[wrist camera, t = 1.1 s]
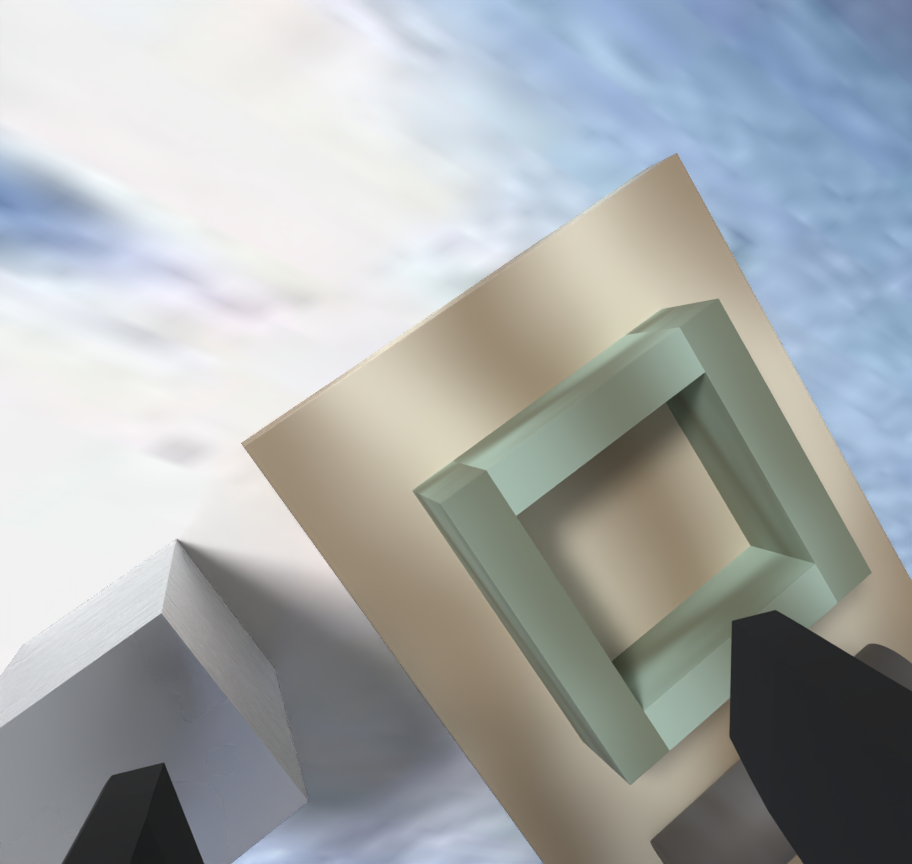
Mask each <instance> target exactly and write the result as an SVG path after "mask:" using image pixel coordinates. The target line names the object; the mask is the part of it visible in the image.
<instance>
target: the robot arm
mask: <svg viewBox="0 0 912 864" xmlns="http://www.w3.org/2000/svg"><path fill="white" fill-rule="evenodd" d="M729 737H730V739H731V741H732V743H733V745H734V747H735V749H736V751H737V753H738V755H739V757H740V759H741V761H742V763H743V765H744V767H745V769H746V771H747V773H748V775H749V777H750V779H751V781H752V782H753V784H754V786H755V788H756V790H757V792H758V794H759V795H760V797H761V799H762V801H763V803H764V805H765V806H766V808H767V810H768V812H769V813H770V815H771V816H772V818H773V819H774V821H775V822H776V824H777V825H778V827H779V829H780V830H781V832H782V833H783V834H784V836H785V837H786V839H787V840H788V842H789V843H790V845H791V846H792V848H793V849H794V851H795V852H796V854H797V855H798V857H799V858H800V860H801V861H802V863H803V864H912V691H911V690H909V689H907V688H906V687H904V686H902V685H900V684H899V683H897V682H895V681H894V680H892V679H890V678H889V677H887V676H885V675H884V674H882V673H880V672H878V671H877V670H875V669H874V668H872V667H870V666H869V665H867V664H865V663H864V662H862V661H860V660H859V659H857V658H855V657H854V656H852V655H850V654H849V653H847V652H845V651H844V650H842V649H840V648H839V647H837V646H835V645H834V644H832V643H830V642H829V641H827V640H826V639H824V638H822V637H821V636H819V635H817V634H816V633H814V632H812V631H811V630H809V629H807V628H806V627H804V626H802V625H801V624H799V623H797V622H796V621H794V620H792V619H791V618H789V617H787V616H785V615H784V614H782V613H780V612H779V611H777V610H773V611H769V612H765V613H761V614H757V615H753V616H749V617H745V618H741V619H737V620H733V621H732V634H731V680H730V726H729ZM62 864H204V862H203V859H202V857H201V854H200V852H199V849H198V847H197V844H196V842H195V839H194V837H193V834H192V831H191V829H190V826H189V824H188V821H187V819H186V816H185V814H184V811H183V809H182V806H181V804H180V801H179V799H178V796H177V794H176V791H175V788H174V786H173V783H172V781H171V778H170V776H169V773H168V771H167V768H166V766H165V763H164V762H163V763H159V764H155V765H151V766H147V767H143V768H139V769H135V770H131V771H127V772H123V773H119V774H115V775H112V776H111V777H110V778H109V780H108V781H107V782H106V784H105V785H104V787H103V789H102V791H101V793H100V794H99V796H98V798H97V800H96V802H95V803H94V805H93V807H92V809H91V811H90V813H89V815H88V816H87V818H86V820H85V822H84V824H83V826H82V827H81V829H80V831H79V833H78V835H77V837H76V838H75V840H74V842H73V844H72V846H71V848H70V849H69V851H68V853H67V855H66V857H65V858H64V860H63V862H62Z"/></svg>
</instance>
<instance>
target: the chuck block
mask: <svg viewBox="0 0 912 864" xmlns="http://www.w3.org/2000/svg"><path fill="white" fill-rule="evenodd" d="M241 444H242V445H243V446H244V448H245V449H246V451H247V452H248V453H249V455H250V456H251V458H252V459H253V460H254V462H255V463H256V464H257V466H258V467H259V469H260V470H261V471H262V473H263V474H264V476H265V477H266V478H267V480H268V481H269V483H270V484H271V485H272V487H273V488H274V489H275V491H276V492H277V494H278V495H279V496H280V498H281V499H282V501H283V502H284V503H285V505H286V506H287V508H288V509H289V510H290V512H291V513H292V514H293V516H294V517H295V519H296V520H297V521H298V523H299V524H300V526H301V527H302V528H303V530H304V531H305V533H306V534H307V535H308V537H309V538H310V539H311V541H312V542H313V544H314V545H315V546H316V548H317V549H318V551H319V552H320V553H321V555H322V556H323V558H324V559H325V560H326V562H327V563H328V565H329V566H330V567H331V569H332V570H333V571H334V573H335V574H336V576H337V577H338V578H339V580H340V581H341V583H342V584H343V585H344V587H345V588H346V590H347V591H348V592H349V594H350V595H351V596H352V598H353V599H354V601H355V602H356V603H357V605H358V606H359V608H360V609H361V610H362V612H363V613H364V615H365V616H366V617H367V619H368V620H369V621H370V623H371V624H372V626H373V627H374V628H375V630H376V631H377V633H378V634H379V635H380V637H381V638H382V640H383V641H384V642H385V644H386V645H387V646H388V648H389V649H390V651H391V652H392V653H393V655H394V656H395V658H396V659H397V660H398V662H399V663H400V665H401V666H402V667H403V669H404V670H405V671H406V673H407V674H408V676H409V677H410V678H411V680H412V681H413V683H414V684H415V685H416V687H417V688H418V690H419V691H420V692H421V694H422V695H423V696H424V698H425V699H426V701H427V702H428V703H429V705H430V706H431V708H432V709H433V710H434V712H435V713H436V715H437V716H438V717H439V719H440V720H441V721H442V723H443V724H444V726H445V727H446V728H447V730H448V731H449V733H450V734H451V735H452V737H453V738H454V740H455V741H456V742H457V744H458V745H459V746H460V748H461V749H462V751H463V752H464V753H465V755H466V756H467V758H468V759H469V760H470V762H471V763H472V765H473V766H474V767H475V769H476V770H477V771H478V773H479V774H480V776H481V777H482V778H483V780H484V781H485V783H486V784H487V785H488V787H489V788H490V790H491V791H492V792H493V794H494V795H495V796H496V798H497V799H498V801H499V802H500V803H501V805H502V806H503V808H504V809H505V810H506V812H507V813H508V815H509V816H510V817H511V819H512V820H513V821H514V823H515V824H516V826H517V827H518V828H519V830H520V831H521V833H522V834H523V835H524V837H525V838H526V840H527V841H528V842H529V844H530V845H531V847H532V848H533V849H534V851H535V852H536V853H537V855H538V856H539V858H540V859H541V860H542V862H543V863H544V864H803V863H802V861H801V860H800V858H799V857H798V855H797V854H796V852H795V851H794V849H793V848H792V846H791V845H790V843H789V842H788V840H787V839H786V837H785V836H784V834H783V833H782V832H781V830H780V829H779V827H778V825H777V824H776V822H775V821H774V819H773V818H772V816H771V815H770V813H769V812H768V810H767V808H766V806H765V805H764V803H763V801H762V799H761V797H760V795H759V794H758V792H757V790H756V788H755V786H754V784H753V782H752V781H751V779H750V777H749V775H748V773H747V771H746V769H745V767H744V765H743V763H742V761H741V759H740V757H739V755H738V753H737V751H736V749H735V747H734V745H733V743H732V741H731V739H730V737H729V726H730V680H731V634H732V621H733V620H737V619H741V618H745V617H749V616H753V615H757V614H761V613H765V612H769V611H773V610H777V611H779V612H780V613H782V614H784V615H785V616H787V617H789V618H791V619H792V620H794V621H796V622H797V623H799V624H801V625H802V626H804V627H806V628H807V629H809V630H811V631H812V632H814V633H816V634H817V635H819V636H821V637H822V638H824V639H826V640H827V641H829V642H830V643H832V644H834V645H835V646H837V647H839V648H840V649H842V650H844V651H845V652H847V653H849V654H850V655H852V656H854V657H855V658H857V659H859V660H860V661H862V662H864V663H865V664H867V665H869V666H870V667H872V668H874V669H875V670H877V671H878V672H880V673H882V674H884V675H885V676H887V677H889V678H890V679H892V680H894V681H895V682H897V683H899V684H900V685H902V686H904V687H906V688H907V689H909V690H911V691H912V581H911V579H910V577H909V575H908V573H907V572H906V570H905V568H904V566H903V564H902V563H901V561H900V559H899V557H898V555H897V553H896V552H895V550H894V548H893V546H892V544H891V542H890V541H889V539H888V537H887V535H886V533H885V532H884V530H883V528H882V526H881V524H880V522H879V521H878V519H877V517H876V515H875V513H874V512H873V510H872V508H871V506H870V504H869V502H868V501H867V499H866V497H865V495H864V493H863V491H862V490H861V488H860V486H859V484H858V482H857V481H856V479H855V477H854V475H853V473H852V471H851V470H850V468H849V466H848V464H847V462H846V460H845V459H844V457H843V455H842V453H841V451H840V450H839V448H838V446H837V444H836V442H835V440H834V439H833V437H832V435H831V433H830V431H829V429H828V428H827V426H826V424H825V422H824V420H823V419H822V417H821V415H820V413H819V411H818V409H817V408H816V406H815V404H814V402H813V400H812V398H811V397H810V395H809V393H808V391H807V389H806V388H805V386H804V384H803V382H802V380H801V378H800V377H799V375H798V373H797V371H796V369H795V367H794V366H793V364H792V362H791V360H790V358H789V357H788V355H787V353H786V351H785V349H784V347H783V346H782V344H781V342H780V340H779V338H778V336H777V335H776V333H775V331H774V329H773V327H772V326H771V324H770V322H769V320H768V318H767V316H766V315H765V313H764V311H763V309H762V307H761V305H760V304H759V302H758V300H757V298H756V296H755V295H754V293H753V291H752V289H751V287H750V285H749V284H748V282H747V280H746V278H745V276H744V274H743V273H742V271H741V269H740V267H739V265H738V264H737V262H736V260H735V258H734V256H733V254H732V253H731V251H730V249H729V247H728V245H727V243H726V242H725V240H724V238H723V236H722V234H721V233H720V231H719V229H718V227H717V225H716V223H715V222H714V220H713V218H712V216H711V214H710V212H709V211H708V209H707V207H706V205H705V203H704V202H703V200H702V198H701V196H700V194H699V192H698V191H697V189H696V187H695V185H694V183H693V181H692V180H691V178H690V176H689V174H688V172H687V171H686V169H685V167H684V165H683V163H682V161H681V160H680V158H679V156H678V154H677V153H676V154H674V155H672V156H670V157H668V158H666V159H664V160H662V161H660V162H658V163H657V164H655V165H653V166H651V167H649V168H647V169H645V170H644V171H642V172H641V173H639V174H638V175H636V176H635V177H634V178H632V179H631V180H629V181H628V182H626V183H625V184H623V185H622V186H620V187H619V188H617V189H616V190H614V191H613V192H611V193H610V194H608V195H607V196H606V197H604V198H603V199H601V200H600V201H598V202H597V203H595V204H594V205H592V206H591V207H589V208H588V209H586V210H585V211H583V212H582V213H580V214H579V215H577V216H576V217H575V218H573V219H572V220H570V221H569V222H567V223H566V224H564V225H563V226H561V227H560V228H558V229H557V230H555V231H554V232H552V233H551V234H549V235H548V236H546V237H545V238H544V239H542V240H541V241H539V242H538V243H536V244H535V245H533V246H532V247H530V248H529V249H527V250H526V251H524V252H523V253H521V254H520V255H518V256H517V257H515V258H514V259H513V260H511V261H510V262H508V263H507V264H505V265H504V266H502V267H501V268H499V269H498V270H496V271H495V272H493V273H492V274H490V275H489V276H487V277H486V278H484V279H483V280H482V281H480V282H479V283H477V284H476V285H474V286H473V287H471V288H470V289H468V290H467V291H465V292H464V293H462V294H461V295H459V296H458V297H456V298H455V299H453V300H452V301H451V302H449V303H448V304H446V305H445V306H443V307H442V308H440V309H439V310H437V311H436V312H434V313H433V314H431V315H430V316H428V317H427V318H425V319H424V320H422V321H421V322H420V323H418V324H417V325H415V326H414V327H412V328H411V329H409V330H408V331H406V332H405V333H403V334H402V335H400V336H399V337H397V338H396V339H394V340H393V341H391V342H390V343H389V344H387V345H386V346H384V347H383V348H381V349H380V350H378V351H377V352H375V353H374V354H372V355H371V356H369V357H368V358H366V359H365V360H363V361H362V362H360V363H359V364H358V365H356V366H355V367H353V368H352V369H350V370H349V371H347V372H346V373H344V374H343V375H341V376H340V377H338V378H337V379H335V380H334V381H332V382H331V383H329V384H328V385H327V386H325V387H324V388H322V389H321V390H319V391H318V392H316V393H315V394H313V395H312V396H310V397H309V398H307V399H306V400H304V401H303V402H301V403H300V404H298V405H297V406H296V407H294V408H293V409H291V410H290V411H288V412H287V413H285V414H284V415H282V416H281V417H279V418H278V419H276V420H275V421H273V422H272V423H270V424H269V425H267V426H266V427H265V428H263V429H262V430H260V431H259V432H257V433H256V434H254V435H253V436H251V437H250V438H248V439H247V440H245V441H244V442H242V443H241Z"/></svg>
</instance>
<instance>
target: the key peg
mask: <svg viewBox="0 0 912 864" xmlns="http://www.w3.org/2000/svg"><path fill="white" fill-rule="evenodd" d="M163 762H164V763H165V766H166V768H167V771H168V773H169V776H170V778H171V781H172V783H173V786H174V788H175V791H176V794H177V796H178V799H179V801H180V804H181V806H182V809H183V811H184V814H185V816H186V819H187V821H188V824H189V826H190V829H191V831H192V834H193V837H194V839H195V842H196V844H197V847H198V849H199V852H200V854H201V857H202V859H203V862H204V864H231V863H232V862H234V861H235V860H236V859H237V858H239V857H240V856H241V855H242V854H244V853H245V852H246V851H247V850H249V849H250V848H251V847H252V846H254V845H255V844H256V843H257V842H259V841H260V840H261V839H262V838H264V837H265V836H266V835H267V834H269V833H270V832H271V831H272V830H274V829H275V828H276V827H277V826H279V825H280V824H281V823H282V822H284V821H285V820H286V819H287V818H289V817H290V816H291V815H292V814H294V813H295V812H296V811H297V810H299V809H300V808H301V807H302V806H304V805H305V804H306V803H307V802H309V801H308V797H307V793H306V789H305V785H304V781H303V778H302V774H301V770H300V766H299V762H298V758H297V754H296V750H295V746H294V742H293V738H292V734H291V730H290V727H289V723H288V719H287V715H286V711H285V707H284V703H283V699H282V695H281V691H280V687H279V683H278V679H277V676H276V672H275V668H274V667H273V666H272V664H271V663H270V662H269V660H268V659H267V658H266V657H265V655H264V654H263V653H262V651H261V650H260V649H259V647H258V646H257V645H256V643H255V642H254V641H253V639H252V638H251V637H250V635H249V634H248V633H247V632H246V630H245V629H244V628H243V626H242V625H241V624H240V622H239V621H238V620H237V618H236V617H235V616H234V614H233V613H232V612H231V610H230V609H229V608H228V607H227V605H226V604H225V603H224V601H223V600H222V599H221V597H220V596H219V595H218V593H217V592H216V591H215V589H214V588H213V587H212V585H211V584H210V583H209V581H208V580H207V579H206V578H205V576H204V575H203V574H202V572H201V571H200V570H199V568H198V567H197V566H196V564H195V563H194V562H193V560H192V559H191V558H190V556H189V555H188V554H187V553H186V551H185V550H184V549H183V547H182V546H181V545H180V543H179V542H178V541H177V539H175V540H174V541H172V542H171V543H169V544H168V545H167V546H165V547H164V548H162V549H161V550H159V551H158V552H156V553H155V554H154V555H152V556H151V557H149V558H148V559H146V560H145V561H143V562H142V563H141V564H139V565H138V566H136V567H135V568H133V569H132V570H130V571H129V572H128V573H126V574H125V575H123V576H122V577H120V578H119V579H117V580H116V581H115V582H113V583H112V584H110V585H109V586H107V587H106V588H104V589H103V590H102V591H100V592H99V593H97V594H96V595H94V596H93V597H91V598H90V599H89V600H87V601H86V602H84V603H83V604H81V605H80V606H78V607H77V608H76V609H74V610H73V611H71V612H70V613H68V614H67V615H65V616H64V617H63V618H61V619H60V620H58V621H57V622H55V623H54V624H52V625H51V626H50V627H48V628H47V629H45V630H44V631H42V632H41V633H39V634H38V635H37V636H35V637H34V638H32V639H31V640H29V641H28V642H26V643H25V644H24V645H22V647H21V648H20V650H19V651H18V652H17V654H16V655H15V656H14V658H13V659H12V661H11V662H10V663H9V665H8V666H7V667H6V669H5V670H4V672H3V673H2V674H1V676H0V864H62V862H63V860H64V858H65V857H66V855H67V853H68V851H69V849H70V848H71V846H72V844H73V842H74V840H75V838H76V837H77V835H78V833H79V831H80V829H81V827H82V826H83V824H84V822H85V820H86V818H87V816H88V815H89V813H90V811H91V809H92V807H93V805H94V803H95V802H96V800H97V798H98V796H99V794H100V793H101V791H102V789H103V787H104V785H105V784H106V782H107V781H108V780H109V778H110V777H111V776H112V775H115V774H119V773H123V772H127V771H131V770H135V769H139V768H143V767H147V766H151V765H155V764H159V763H163Z"/></svg>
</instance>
